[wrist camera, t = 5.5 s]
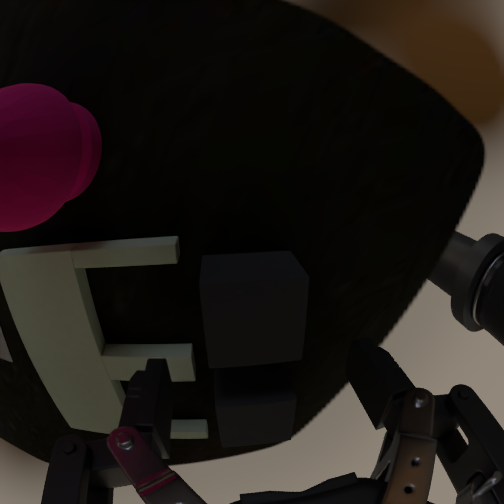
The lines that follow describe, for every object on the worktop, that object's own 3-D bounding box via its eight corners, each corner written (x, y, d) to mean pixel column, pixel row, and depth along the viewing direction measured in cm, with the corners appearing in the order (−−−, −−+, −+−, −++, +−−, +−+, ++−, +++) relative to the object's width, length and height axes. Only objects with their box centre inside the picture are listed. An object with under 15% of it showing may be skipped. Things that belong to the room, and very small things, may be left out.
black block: (285, 361, 21) (297, 399, 17) (281, 405, 23) (291, 440, 19) (213, 367, 20) (214, 407, 17) (219, 411, 22) (222, 447, 18)
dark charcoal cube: (290, 250, 18) (309, 277, 14) (287, 323, 20) (302, 359, 16) (201, 255, 17) (198, 284, 14) (209, 329, 19) (209, 368, 15)
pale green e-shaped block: (178, 235, 17) (175, 243, 15) (207, 426, 23) (208, 438, 21) (4, 249, 15) (-8, 256, 14) (74, 417, 21) (70, 427, 20)
